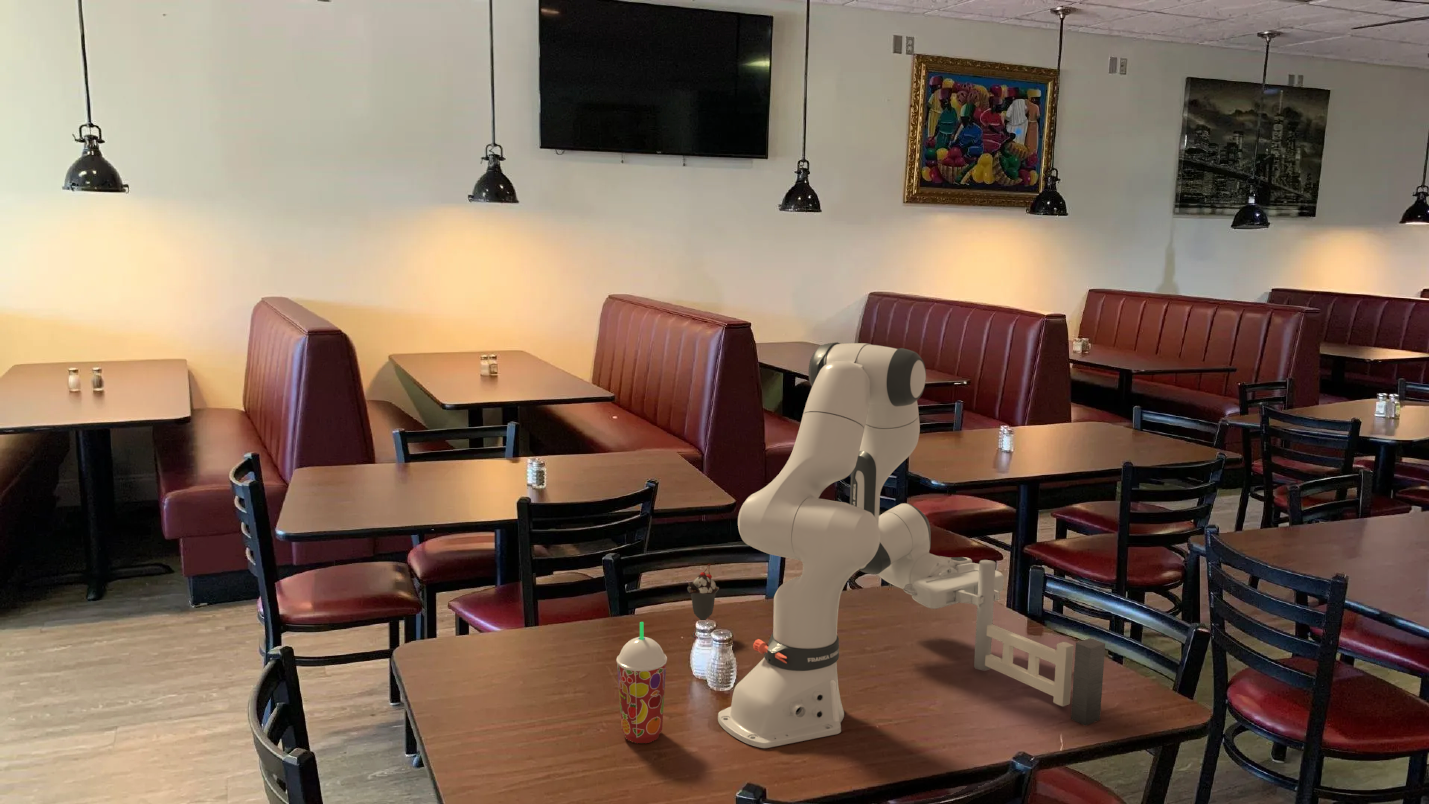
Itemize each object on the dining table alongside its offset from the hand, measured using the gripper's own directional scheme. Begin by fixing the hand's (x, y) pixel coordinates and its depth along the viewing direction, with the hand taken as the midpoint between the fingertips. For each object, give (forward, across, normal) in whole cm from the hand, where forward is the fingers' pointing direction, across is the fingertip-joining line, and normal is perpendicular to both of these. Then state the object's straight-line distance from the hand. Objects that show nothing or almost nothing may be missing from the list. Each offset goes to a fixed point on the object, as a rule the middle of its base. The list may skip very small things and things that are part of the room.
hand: (989, 599), depth 198 cm
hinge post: (+23, 0, +15) cm, 27 cm away
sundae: (-46, -35, +15) cm, 60 cm away
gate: (+8, 0, +14) cm, 16 cm away
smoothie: (-14, -68, +15) cm, 71 cm away
